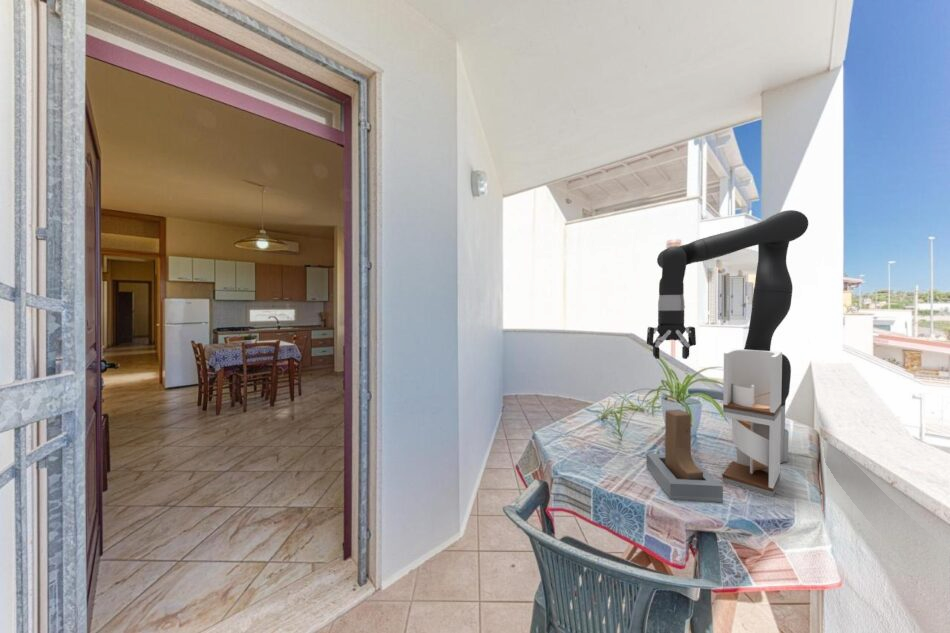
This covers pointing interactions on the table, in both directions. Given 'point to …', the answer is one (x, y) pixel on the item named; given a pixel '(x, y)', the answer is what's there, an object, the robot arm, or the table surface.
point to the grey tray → (684, 482)
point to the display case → (754, 417)
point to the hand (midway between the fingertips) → (670, 358)
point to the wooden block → (680, 446)
